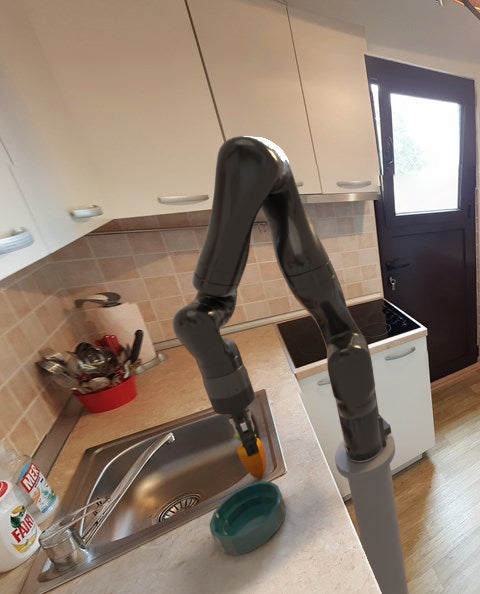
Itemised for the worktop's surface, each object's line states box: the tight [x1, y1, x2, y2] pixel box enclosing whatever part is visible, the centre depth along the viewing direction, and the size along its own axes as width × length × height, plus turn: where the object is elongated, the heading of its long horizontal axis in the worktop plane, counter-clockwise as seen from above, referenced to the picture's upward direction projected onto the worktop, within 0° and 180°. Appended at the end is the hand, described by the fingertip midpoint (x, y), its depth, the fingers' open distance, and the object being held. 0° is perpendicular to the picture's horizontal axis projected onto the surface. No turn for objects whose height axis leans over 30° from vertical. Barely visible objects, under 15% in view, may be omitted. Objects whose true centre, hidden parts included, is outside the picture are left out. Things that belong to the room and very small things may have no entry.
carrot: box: [233, 429, 267, 480], centre depth 78 cm, size 5×5×15 cm
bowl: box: [209, 481, 287, 556], centre depth 69 cm, size 12×12×6 cm
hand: (249, 442), depth 76 cm, fingers open, 8 cm apart
